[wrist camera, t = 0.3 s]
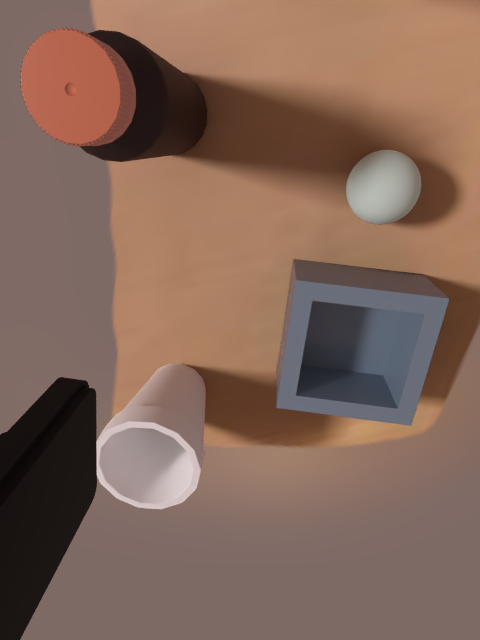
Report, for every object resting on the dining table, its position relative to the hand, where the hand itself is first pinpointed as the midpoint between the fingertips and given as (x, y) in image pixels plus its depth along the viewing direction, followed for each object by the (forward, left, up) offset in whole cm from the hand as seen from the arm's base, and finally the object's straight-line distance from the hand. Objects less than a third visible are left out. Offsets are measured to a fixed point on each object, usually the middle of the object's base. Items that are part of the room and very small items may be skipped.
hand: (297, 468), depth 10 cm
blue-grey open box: (+10, +8, -34) cm, 37 cm away
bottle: (-8, -11, -35) cm, 37 cm away
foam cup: (+20, -9, -35) cm, 41 cm away
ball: (-4, +8, -31) cm, 33 cm away
